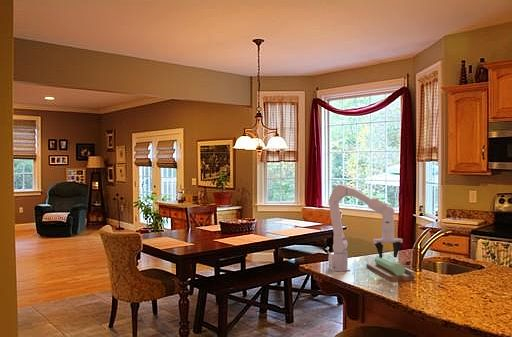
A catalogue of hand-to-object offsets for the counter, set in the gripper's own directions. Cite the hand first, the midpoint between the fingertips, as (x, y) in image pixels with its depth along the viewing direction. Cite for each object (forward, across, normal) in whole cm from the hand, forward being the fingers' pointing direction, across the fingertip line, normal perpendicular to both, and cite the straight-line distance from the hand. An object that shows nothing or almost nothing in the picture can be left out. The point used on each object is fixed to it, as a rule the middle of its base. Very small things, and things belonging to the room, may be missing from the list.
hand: (387, 257), depth 223 cm
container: (+6, 0, 0) cm, 6 cm away
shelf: (+8, +1, 0) cm, 8 cm away
